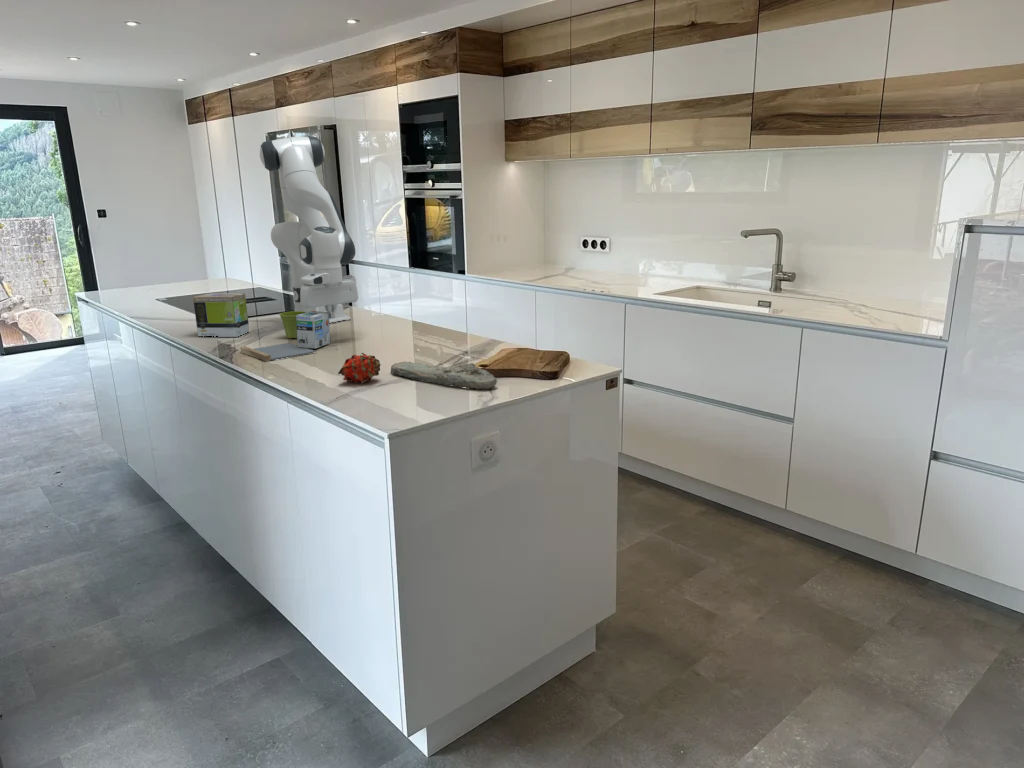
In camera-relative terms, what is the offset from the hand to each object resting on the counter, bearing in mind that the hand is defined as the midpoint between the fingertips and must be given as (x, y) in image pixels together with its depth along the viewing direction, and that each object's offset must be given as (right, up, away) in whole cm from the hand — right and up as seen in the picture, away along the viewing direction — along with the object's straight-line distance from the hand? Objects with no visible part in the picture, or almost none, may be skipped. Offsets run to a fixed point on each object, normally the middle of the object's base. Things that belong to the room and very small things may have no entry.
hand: (331, 318), depth 234 cm
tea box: (-44, -5, +18) cm, 48 cm away
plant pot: (-16, -6, +13) cm, 22 cm away
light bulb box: (-5, -10, -2) cm, 11 cm away
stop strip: (-20, -14, -16) cm, 29 cm away
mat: (-14, -12, -10) cm, 21 cm away
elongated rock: (+42, -22, -44) cm, 64 cm away
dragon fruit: (+20, -22, -46) cm, 55 cm away
